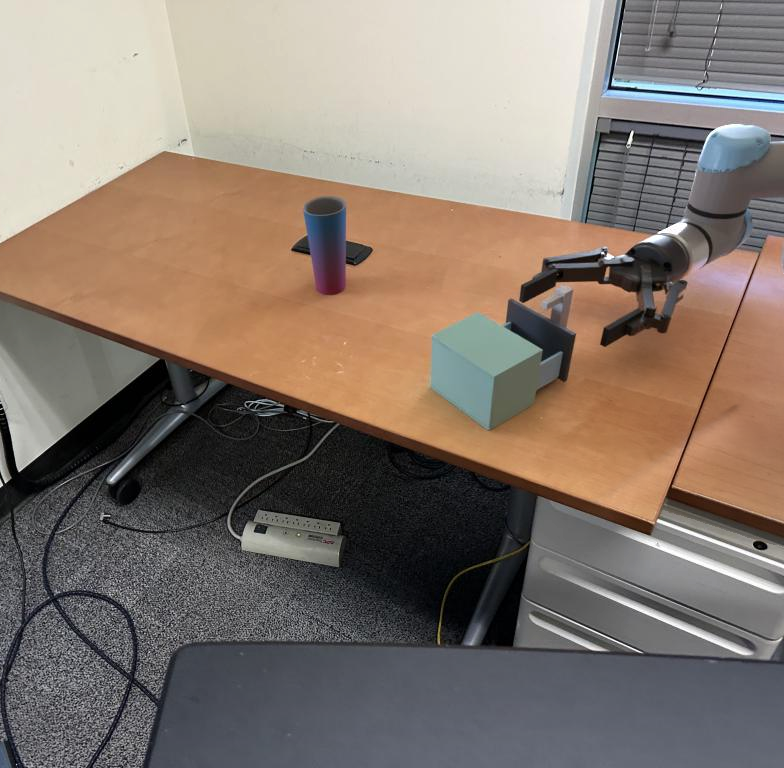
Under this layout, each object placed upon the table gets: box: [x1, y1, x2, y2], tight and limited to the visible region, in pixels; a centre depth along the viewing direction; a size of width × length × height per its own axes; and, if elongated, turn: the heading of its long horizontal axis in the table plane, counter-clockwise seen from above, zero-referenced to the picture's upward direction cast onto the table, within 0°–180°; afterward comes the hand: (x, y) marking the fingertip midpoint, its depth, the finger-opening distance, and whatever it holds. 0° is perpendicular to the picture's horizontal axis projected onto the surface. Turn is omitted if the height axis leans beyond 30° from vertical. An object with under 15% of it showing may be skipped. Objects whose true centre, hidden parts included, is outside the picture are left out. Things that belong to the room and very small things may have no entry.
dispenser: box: [429, 311, 543, 431], centre depth 89 cm, size 8×11×9 cm
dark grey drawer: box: [501, 284, 577, 391], centre depth 91 cm, size 12×11×10 cm
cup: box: [302, 195, 347, 296], centre depth 112 cm, size 7×7×15 cm
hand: (560, 314), depth 92 cm, fingers open, 13 cm apart
